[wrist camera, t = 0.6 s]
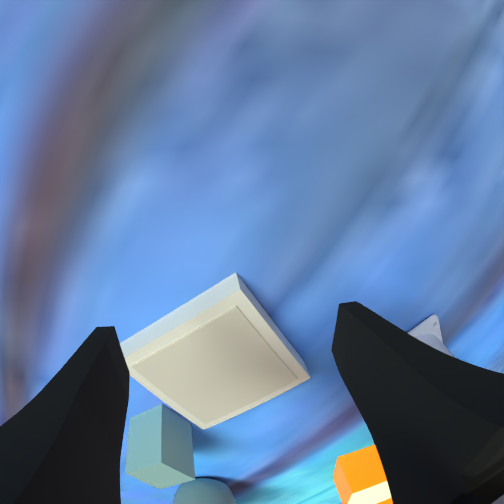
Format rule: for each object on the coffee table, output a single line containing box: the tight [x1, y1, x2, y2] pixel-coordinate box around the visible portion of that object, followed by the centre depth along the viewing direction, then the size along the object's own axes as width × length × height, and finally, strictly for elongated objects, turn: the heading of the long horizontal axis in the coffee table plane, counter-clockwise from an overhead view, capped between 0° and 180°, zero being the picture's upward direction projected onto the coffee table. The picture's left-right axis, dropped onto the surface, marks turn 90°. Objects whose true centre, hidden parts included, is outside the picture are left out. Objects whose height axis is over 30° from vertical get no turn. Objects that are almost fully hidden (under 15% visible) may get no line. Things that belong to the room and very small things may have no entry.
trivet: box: [120, 272, 311, 430], centre depth 22 cm, size 10×10×3 cm
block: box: [125, 404, 195, 489], centre depth 23 cm, size 4×4×6 cm
